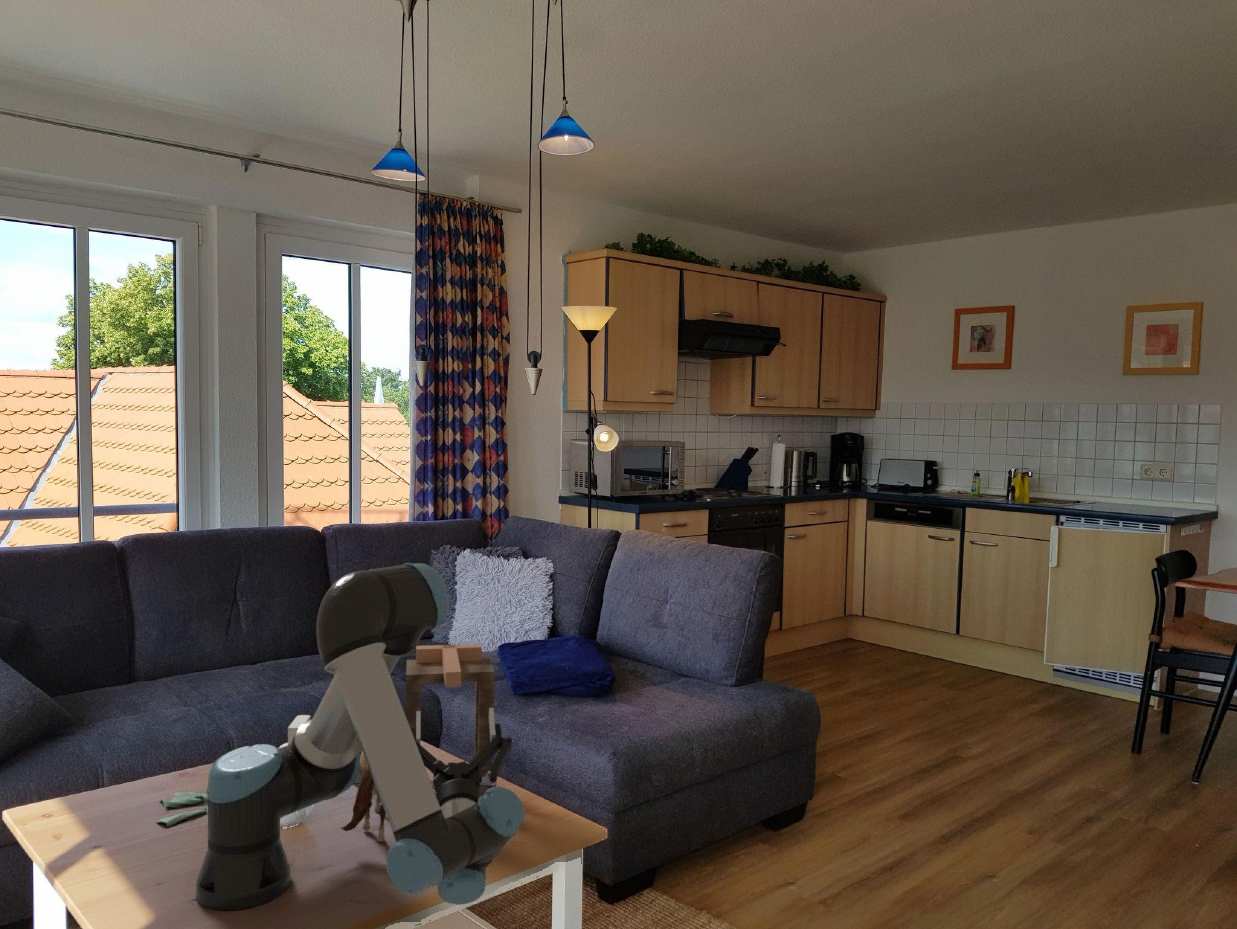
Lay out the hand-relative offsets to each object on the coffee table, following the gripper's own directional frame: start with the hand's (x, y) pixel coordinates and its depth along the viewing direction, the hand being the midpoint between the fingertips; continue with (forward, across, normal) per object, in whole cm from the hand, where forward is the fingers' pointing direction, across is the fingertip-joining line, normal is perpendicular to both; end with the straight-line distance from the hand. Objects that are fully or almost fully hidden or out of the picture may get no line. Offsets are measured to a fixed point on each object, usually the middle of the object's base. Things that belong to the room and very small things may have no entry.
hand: (454, 714), depth 169 cm
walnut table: (+6, 0, -34) cm, 34 cm away
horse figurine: (0, -17, -31) cm, 35 cm away
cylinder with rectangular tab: (+25, -33, -46) cm, 62 cm away
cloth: (+10, -53, -38) cm, 66 cm away
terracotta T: (+16, 0, -5) cm, 17 cm away
